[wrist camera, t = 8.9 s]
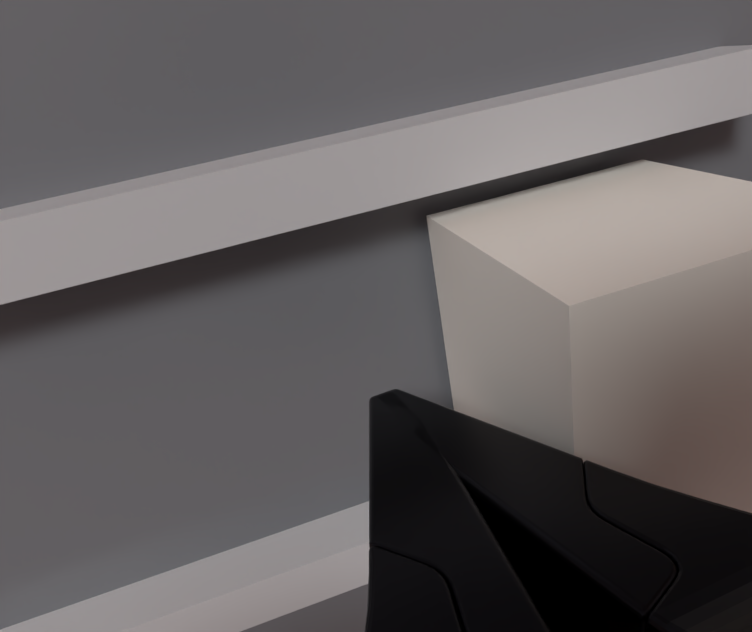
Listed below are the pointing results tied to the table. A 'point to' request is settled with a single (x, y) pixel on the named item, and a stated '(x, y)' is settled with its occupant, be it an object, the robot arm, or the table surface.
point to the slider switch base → (275, 265)
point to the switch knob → (609, 321)
